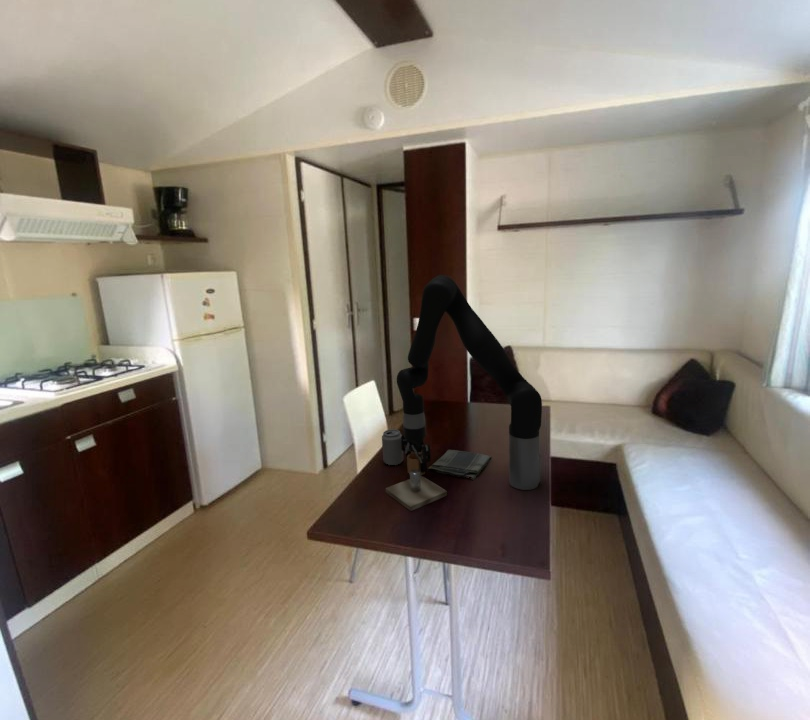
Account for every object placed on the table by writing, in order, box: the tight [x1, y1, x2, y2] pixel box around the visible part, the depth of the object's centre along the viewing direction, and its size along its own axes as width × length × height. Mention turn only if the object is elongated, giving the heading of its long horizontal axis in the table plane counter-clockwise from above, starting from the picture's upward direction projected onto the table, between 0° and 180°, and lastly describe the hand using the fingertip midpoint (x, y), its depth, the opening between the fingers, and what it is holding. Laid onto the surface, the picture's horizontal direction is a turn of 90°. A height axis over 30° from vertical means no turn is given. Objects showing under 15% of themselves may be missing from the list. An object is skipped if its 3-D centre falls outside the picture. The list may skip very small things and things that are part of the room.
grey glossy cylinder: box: [409, 470, 421, 492], centre depth 135 cm, size 3×3×6 cm
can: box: [381, 428, 404, 466], centre depth 158 cm, size 8×8×12 cm
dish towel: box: [427, 449, 493, 481], centre depth 154 cm, size 19×18×3 cm
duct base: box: [385, 475, 448, 512], centre depth 136 cm, size 14×14×2 cm
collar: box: [406, 452, 426, 476], centre depth 150 cm, size 6×6×6 cm
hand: (416, 467), depth 150 cm, fingers open, 8 cm apart
